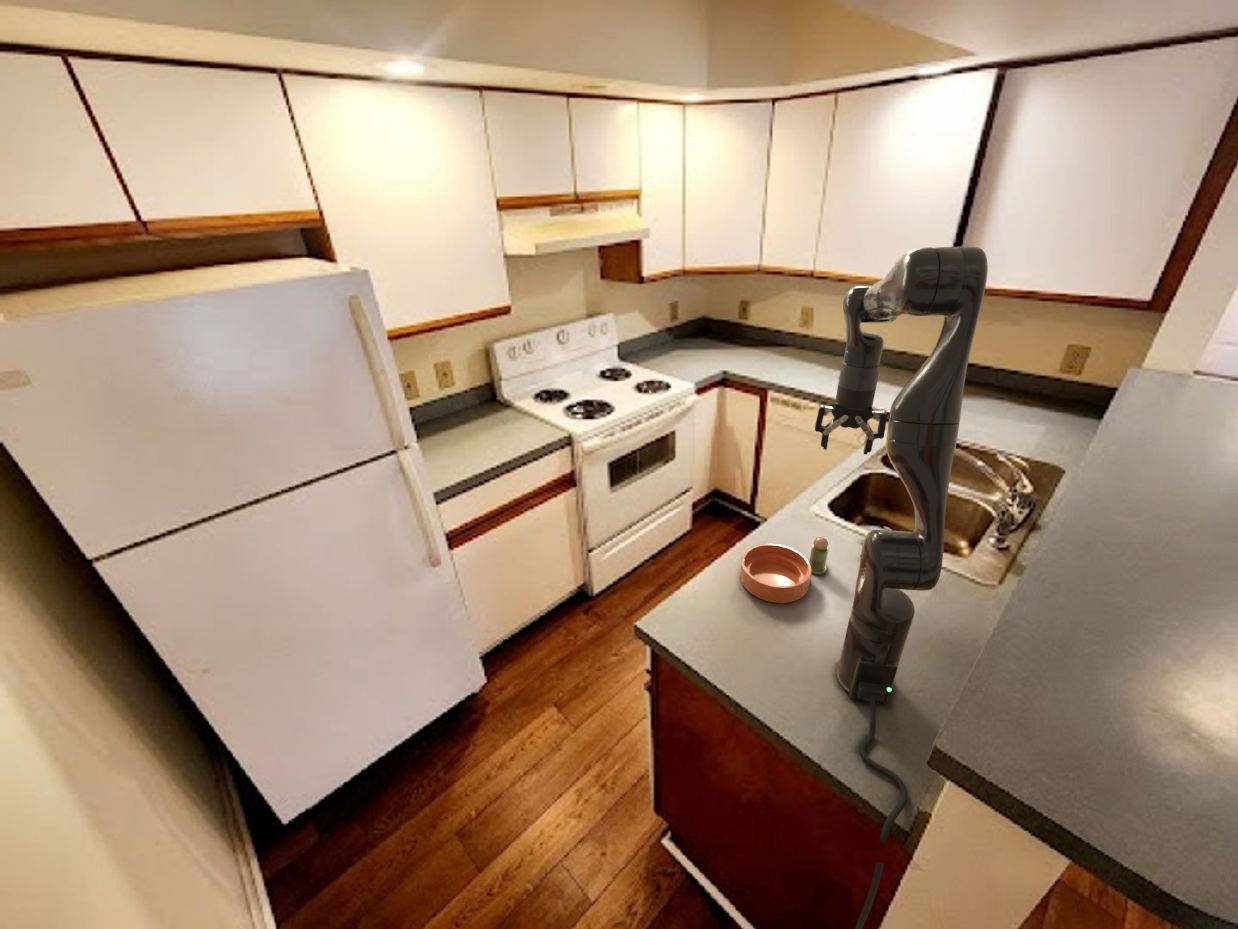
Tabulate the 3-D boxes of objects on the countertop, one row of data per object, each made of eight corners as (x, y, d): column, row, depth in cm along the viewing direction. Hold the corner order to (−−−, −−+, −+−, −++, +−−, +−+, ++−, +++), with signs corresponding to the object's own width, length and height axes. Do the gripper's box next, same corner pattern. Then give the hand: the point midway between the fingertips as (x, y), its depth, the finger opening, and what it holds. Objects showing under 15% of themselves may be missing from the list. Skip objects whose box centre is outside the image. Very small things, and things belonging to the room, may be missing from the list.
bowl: (811, 608, 115) (814, 591, 113) (739, 600, 118) (741, 583, 116) (805, 563, 128) (807, 547, 125) (740, 557, 131) (741, 541, 128)
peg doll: (827, 575, 124) (833, 545, 119) (807, 574, 125) (812, 543, 120) (824, 563, 128) (830, 533, 123) (805, 562, 128) (810, 531, 124)
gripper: (821, 386, 113) (811, 454, 120) (895, 392, 108) (880, 462, 116) (822, 374, 119) (812, 440, 126) (892, 380, 114) (878, 447, 122)
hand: (845, 450), depth 121 cm, fingers open, 8 cm apart
